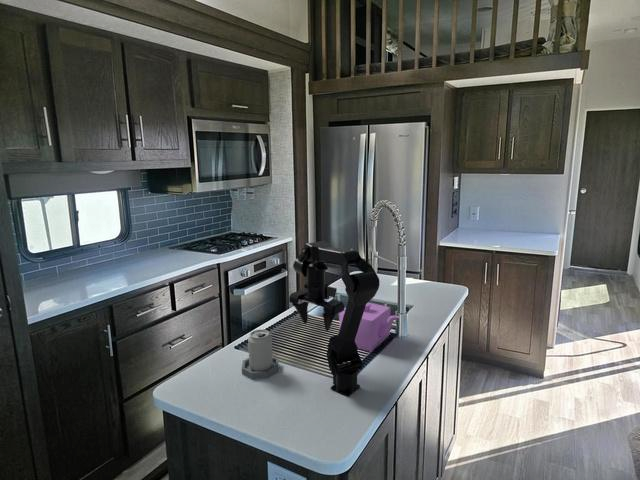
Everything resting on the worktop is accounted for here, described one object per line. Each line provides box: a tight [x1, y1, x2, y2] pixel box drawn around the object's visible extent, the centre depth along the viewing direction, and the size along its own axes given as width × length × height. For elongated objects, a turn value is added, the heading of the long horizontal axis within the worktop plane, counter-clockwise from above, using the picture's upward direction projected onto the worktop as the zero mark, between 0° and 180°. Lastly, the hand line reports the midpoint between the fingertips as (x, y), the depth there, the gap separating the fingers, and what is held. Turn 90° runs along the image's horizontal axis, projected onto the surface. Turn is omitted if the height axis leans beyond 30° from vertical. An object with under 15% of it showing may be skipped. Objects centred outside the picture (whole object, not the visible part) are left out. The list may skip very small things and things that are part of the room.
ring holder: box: [241, 355, 280, 380], centre depth 137 cm, size 12×12×2 cm
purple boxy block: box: [338, 302, 401, 353], centre depth 155 cm, size 15×25×14 cm, turn 56°
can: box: [247, 329, 273, 372], centre depth 135 cm, size 8×8×12 cm
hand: (316, 326), depth 137 cm, fingers open, 9 cm apart
